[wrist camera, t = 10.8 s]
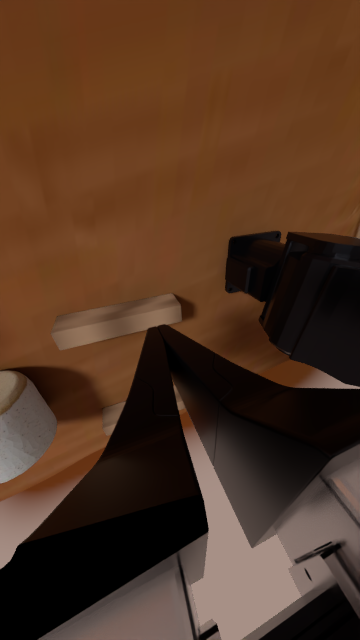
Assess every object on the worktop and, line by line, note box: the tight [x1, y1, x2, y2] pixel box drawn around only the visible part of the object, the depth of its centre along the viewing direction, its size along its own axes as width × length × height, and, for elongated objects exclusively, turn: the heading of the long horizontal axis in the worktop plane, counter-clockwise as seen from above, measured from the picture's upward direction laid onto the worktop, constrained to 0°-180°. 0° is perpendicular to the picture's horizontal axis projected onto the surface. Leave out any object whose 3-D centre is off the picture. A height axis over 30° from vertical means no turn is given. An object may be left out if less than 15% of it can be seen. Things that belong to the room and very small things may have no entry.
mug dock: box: [51, 293, 186, 436], centre depth 24 cm, size 12×18×3 cm, turn 5°
